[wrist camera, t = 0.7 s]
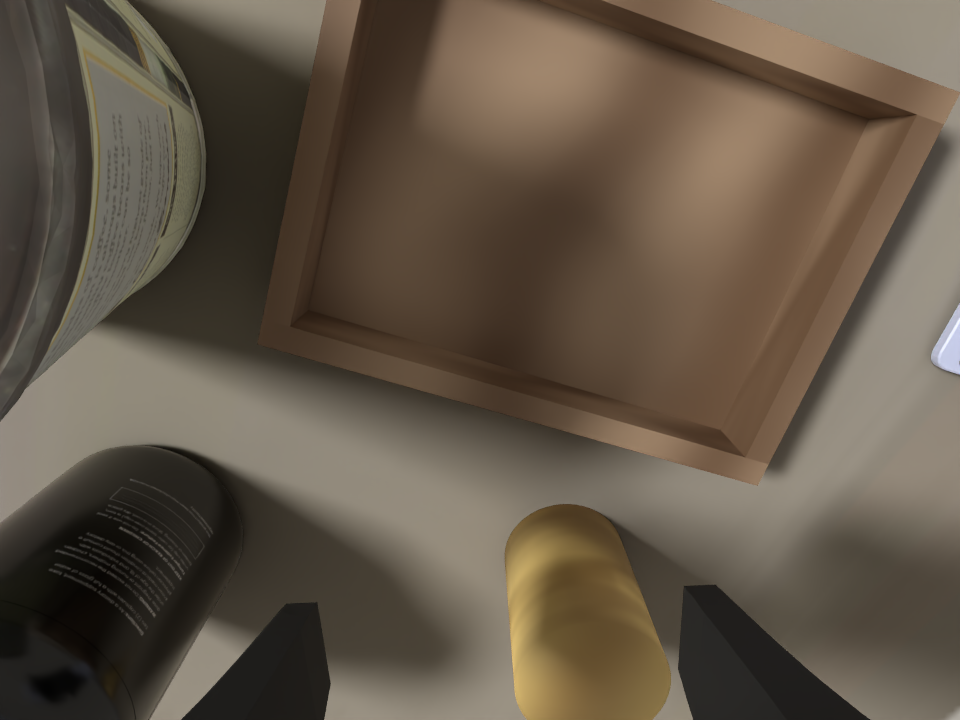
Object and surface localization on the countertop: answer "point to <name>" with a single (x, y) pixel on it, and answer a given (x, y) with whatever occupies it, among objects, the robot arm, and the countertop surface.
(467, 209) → the tray
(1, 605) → the supplement bottle
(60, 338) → the coffee can
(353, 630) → the countertop surface
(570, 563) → the tan wooden cylinder
